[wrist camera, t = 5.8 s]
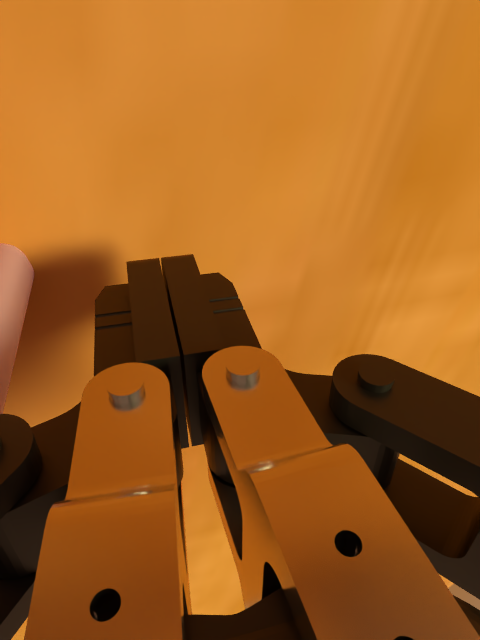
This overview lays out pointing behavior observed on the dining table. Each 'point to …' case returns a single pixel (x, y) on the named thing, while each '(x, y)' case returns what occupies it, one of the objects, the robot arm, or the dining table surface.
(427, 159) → the dining table surface
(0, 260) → the clip
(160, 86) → the dining table surface
